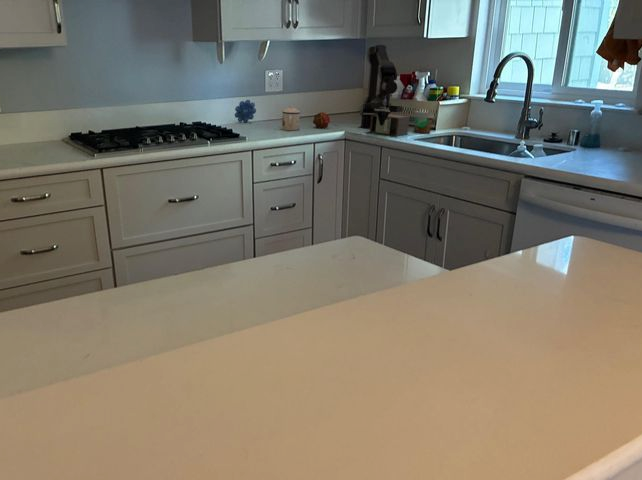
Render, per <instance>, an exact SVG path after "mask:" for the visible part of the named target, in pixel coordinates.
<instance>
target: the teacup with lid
mask: <svg viewBox="0 0 642 480" xmlns="http://www.w3.org/2000/svg"><path fill="white" fill-rule="evenodd" d="M281 113H282V117H281V118H282V119H281V130H284V131H290V132H291V131H293V132H294V131H299V130H300V114H301V111H300V110H298V109H297V108H295V107H294V105H289V107H286V108H285V109H283V110H282V111H281Z"/></svg>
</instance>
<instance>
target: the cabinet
mask: <svg viewBox="0 0 642 480" xmlns="http://www.w3.org/2000/svg"><path fill="white" fill-rule="evenodd" d="M370 114H371V123H370V128H369V131H366V134H373V135H377V136H378V135H379V136H386V137H394V138H395V137H401V136H407V135H408V134H409V126H410V116H409V115H402V114H401V115H400V114H393V113H390V114H389V115H388V117H389V118H391V123H390V132H389V134H384V133H377V132H375V131H376V121H377V116H378V115H377V114H374V113H370Z"/></svg>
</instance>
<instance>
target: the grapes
mask: <svg viewBox="0 0 642 480" xmlns="http://www.w3.org/2000/svg"><path fill="white" fill-rule="evenodd" d="M255 106H256V104H255V102H251V100H250V99H246V100H241V101H240V102H239V103H238V105H237V106H235V108H234V110H235V113H234V117H235V118H237V121H238V123H242V122H243V123H244V124H246V123H248V122H249V120H250V121H251V120H253V119H254V114H256V112H257V109H256V108H255Z"/></svg>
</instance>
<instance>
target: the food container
mask: <svg viewBox="0 0 642 480" xmlns="http://www.w3.org/2000/svg"><path fill="white" fill-rule="evenodd" d="M413 117H414V121H413V122H414V123H413V125H414V126H413V133H415V134H423V135H430V133H431V130H432V124H433V119H434V118H435V114H434V113H426V112H420V110H416V111H414V113H413Z"/></svg>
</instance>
